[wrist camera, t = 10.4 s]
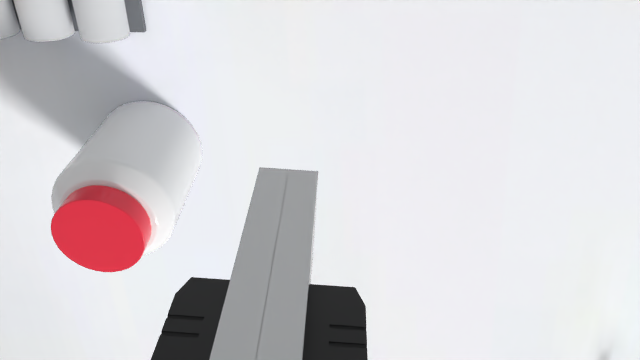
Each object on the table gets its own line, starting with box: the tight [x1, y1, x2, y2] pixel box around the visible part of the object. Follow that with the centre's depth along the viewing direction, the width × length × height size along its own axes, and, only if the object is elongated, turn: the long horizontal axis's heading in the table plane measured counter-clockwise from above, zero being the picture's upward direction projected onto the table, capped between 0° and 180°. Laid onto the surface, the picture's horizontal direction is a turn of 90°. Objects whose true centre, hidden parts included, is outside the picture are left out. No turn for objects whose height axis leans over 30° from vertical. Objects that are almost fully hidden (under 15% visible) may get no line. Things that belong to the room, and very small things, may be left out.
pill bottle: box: [51, 101, 203, 272], centre depth 36 cm, size 8×8×11 cm
